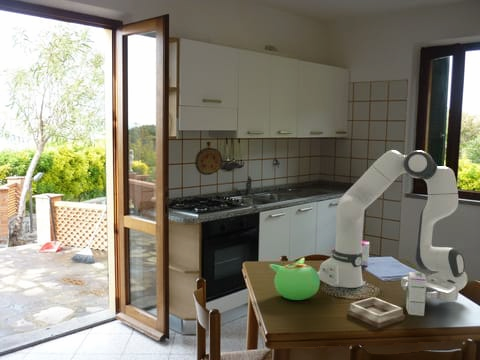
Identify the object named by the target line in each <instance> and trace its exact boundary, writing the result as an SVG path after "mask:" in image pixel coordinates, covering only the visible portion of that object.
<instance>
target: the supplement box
mask: <svg viewBox="0 0 480 360" xmlns="http://www.w3.org/2000/svg"><path fill="white" fill-rule="evenodd" d="M361 252H362V262H361V267H366V268H367V267H369V258H370V241H367V240H362V250H361Z"/></svg>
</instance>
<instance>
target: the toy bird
mask: <svg viewBox="0 0 480 360" xmlns="http://www.w3.org/2000/svg"><path fill="white" fill-rule="evenodd" d="M305 260H306V259H305V257H301V258H300V259H298V261H296V262H295V263H294V262H293V263H289V264H285V265H284V266H282V265H278V264H273V263H271V264H269V265H268V266H269V268H270V269H272V271H274V272H275V273H276V274H275V276H274V279H273V280H274V282H273V283H274V284H273V285H274V287H275V290H276V291H277V293H278V294H279V295H280V296H282V297H283V298H285V299H287V300H293V301H302V300H306V299H307V300H308V299H309V298H312V297H313V296H314V295H316V293H317V292H318V290H319V288H320V284H321V280H320V279H319V275H318V273H317V272H318V271H317V270H316V269H314V268H313V267H312V266H310V265H308V264H305Z"/></svg>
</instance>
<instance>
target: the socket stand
mask: <svg viewBox="0 0 480 360" xmlns="http://www.w3.org/2000/svg"><path fill="white" fill-rule="evenodd" d="M403 312H404V308H403V307H400V306H398V305H395V304H393V303H390V302H388V301H385V300H382V299H380V298H377V297H375V296H372V297H369V298H365V299H362V300H359V301H354V302H352V303H349V309H347V315H349V316H351V317H353V318H355V319H357V320H360V321H361V322H364V323H366V324H369V325H371V326H373V327H375V328H378V329H381V328H384V327H387V326H390V325H393V324H397V323H398V322H401V321H403V320H405V317H406V316H405V315H404V313H403Z"/></svg>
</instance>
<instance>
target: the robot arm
mask: <svg viewBox="0 0 480 360" xmlns="http://www.w3.org/2000/svg"><path fill="white" fill-rule="evenodd" d="M402 174H407V175H409V176H410V177H411V178H415V179H423V180H424V182H425V183H426V188H427V201H426V205H425V207H424V208H422V210H421V212H420V218H419V225H418V235H417V245H416V249H415V254H414V262H415V264H416V265H417V267H418V268H419V269H420V270H422V272H424V271H425V272H426V271H427V272H436V273H432V274H429V275H427V276H425V277H426V292H425V299H426V298H427V299H437V300H439V301H443V302H446V303H451V302H454V301H455V302H456V301H458V298H459V291H461V290H462V289H464V288H465V286H467V283H468V275H467V273H466V272H465V264H466V263H465V259H464V256H463V255H462V252H460V250H459V249H457V248H456V247H446V246H442V247H441V246H433V245H432V241H433V231H434V226H435V224H436V223H437V222H438V221H440V220H442V219H444V218H447V217H448V216H451V215H452V214H453V213H455V211H456V210H457V208H458V206H459V192H458V183H457V180H456V179H457V178H456V176H455V172H454V170H453V169H452V168H450V167H447V166H443V165H442V166H438V165H437V164H436V162H435V160H434V159H433V157H432V156H431V155H430V154H429V153H428V152H426V151H424V150H421V149H420V150H419V149H418V150H412V151H411V152H409V153H408V154H407V155H404V154H402V153H401V152H400V151H398V150H395V149H391V150H388V151H386V152H385V153H383V154H382V155H381V156H380V157H379V158H377V160H375V161H374V162H373V163H372V165H371V166H370V167H369V168H368V169H367V170H366V171H365V172H364V173H363V175H361V176H360V178H358V180H357V181H355V183H354V184H353V185H352V186H351V187H350V188H348V190H346V192H345V193H344V194H342V196H341V197H340V198H339V201H338V204H337V207H336V228H335V229H336V233H335V234H336V235H335V248H334V249H332V250H330V254H332V256H331V257H330V258H327V259H326V260H325V261H323V262H321V264H320V266H319V269H318V271H316V272H317V273H318V275H319V279H320V282H321V281H322V282H323V283H325V284H328V286H331V287H336V288H337V287H338V288H339V287H340V288H346V289H347V288H348V289H349V288H350V289H353V288H360V287H362V286H364V281H363V273H362V266H361V262H362V252H361V250H362V241H363V235H364V234H363V233H364V220H365V219H364V217H365V211H366V209H367V208H368V207H369V206H370V205H372V203H373V202H375V201H376V200H377V199H378V198H379V197H380V196H381V195H382V194H383V193H384V192H385V191H386V190H387V189H388V188H389V187H390V186H391V185H392V184H393V182H395V180H396V179H398V177H400V176H401V175H402ZM400 284H401V287H402V289H403V291H407V284H408V275H407V276H402V277H401V280H400Z"/></svg>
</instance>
